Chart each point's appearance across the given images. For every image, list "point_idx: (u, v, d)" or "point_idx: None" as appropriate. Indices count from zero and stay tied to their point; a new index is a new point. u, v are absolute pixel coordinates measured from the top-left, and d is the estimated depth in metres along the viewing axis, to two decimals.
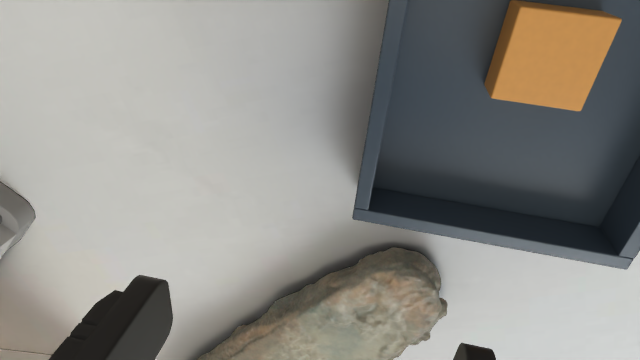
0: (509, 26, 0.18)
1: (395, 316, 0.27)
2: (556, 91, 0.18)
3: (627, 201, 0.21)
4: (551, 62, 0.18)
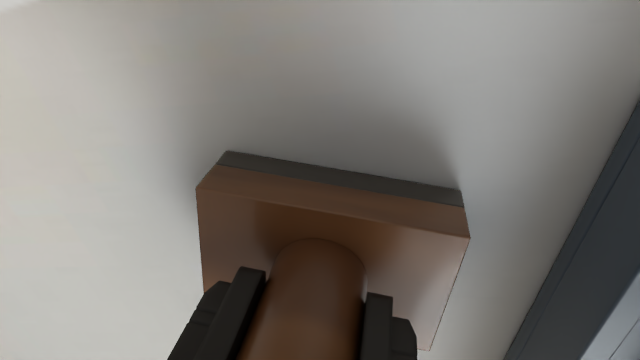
0: None
1: None
2: None
3: None
4: None
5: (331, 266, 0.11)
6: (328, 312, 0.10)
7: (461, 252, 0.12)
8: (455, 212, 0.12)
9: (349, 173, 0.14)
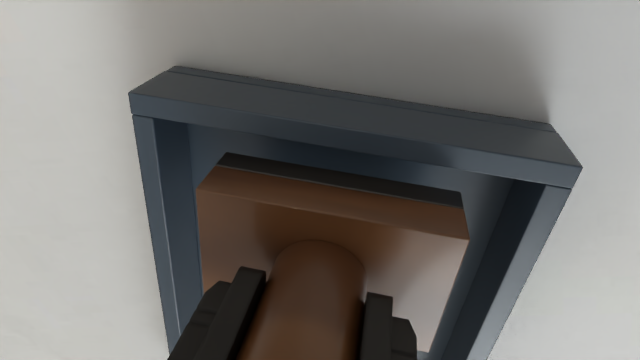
0: None
1: None
2: None
3: None
4: None
5: (331, 267, 0.11)
6: (327, 313, 0.10)
7: (460, 254, 0.12)
8: (455, 214, 0.12)
9: (349, 174, 0.14)
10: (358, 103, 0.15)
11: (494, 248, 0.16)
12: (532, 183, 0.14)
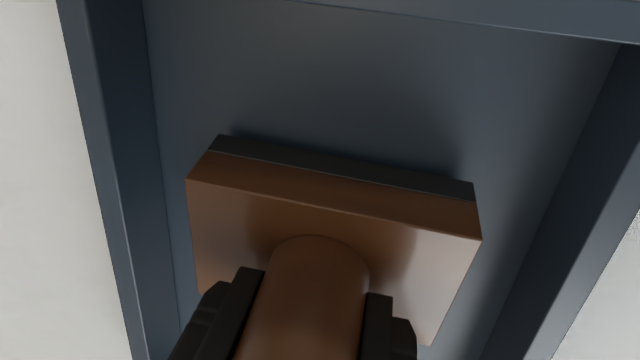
0: None
1: None
2: None
3: None
4: None
5: (331, 268, 0.11)
6: (327, 322, 0.09)
7: (472, 254, 0.11)
8: (467, 209, 0.11)
9: (352, 161, 0.13)
10: None
11: (573, 184, 0.12)
12: None
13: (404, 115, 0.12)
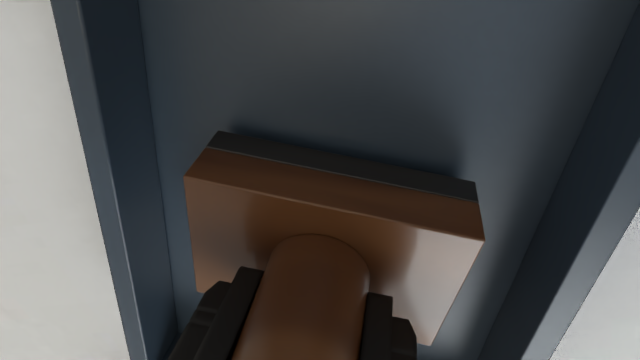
0: None
1: None
2: None
3: None
4: None
5: (332, 268, 0.10)
6: (328, 323, 0.09)
7: (474, 254, 0.11)
8: (469, 209, 0.11)
9: (353, 159, 0.12)
10: None
11: None
12: None
13: None
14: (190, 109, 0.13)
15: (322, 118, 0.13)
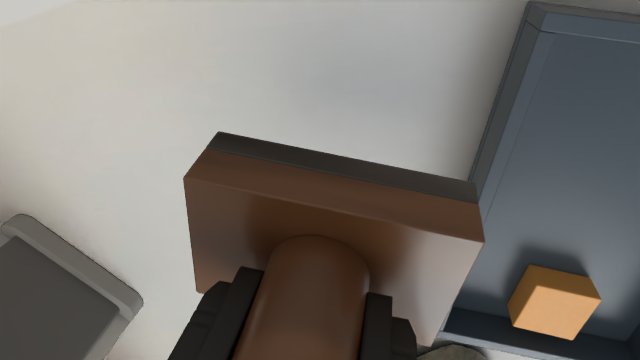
0: (528, 287, 0.27)
1: None
2: (557, 328, 0.27)
3: None
4: (554, 314, 0.27)
5: (331, 269, 0.10)
6: (327, 324, 0.09)
7: (473, 256, 0.11)
8: (469, 210, 0.11)
9: (353, 161, 0.12)
10: None
11: None
12: None
13: None
14: (510, 179, 0.25)
15: (589, 186, 0.24)
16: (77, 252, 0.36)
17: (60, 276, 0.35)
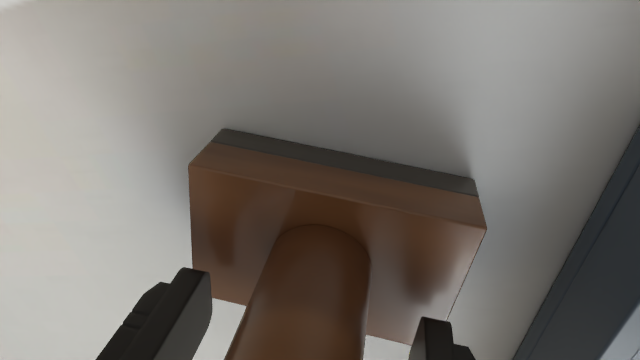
0: None
1: None
2: None
3: None
4: None
5: (335, 255, 0.10)
6: (331, 304, 0.09)
7: (476, 244, 0.11)
8: (469, 201, 0.11)
9: (355, 157, 0.13)
10: None
11: None
12: None
13: None
14: None
15: None
16: None
17: None
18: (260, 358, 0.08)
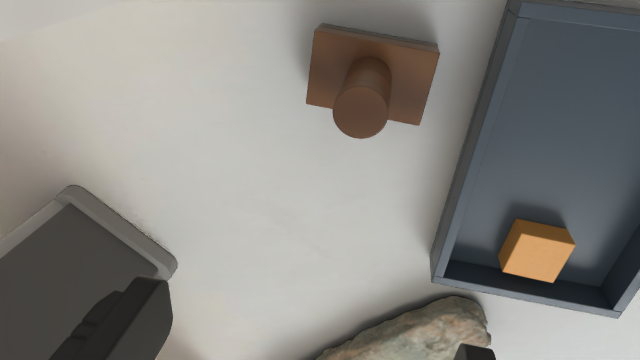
0: (514, 237, 0.32)
1: (455, 345, 0.38)
2: (539, 272, 0.32)
3: (618, 274, 0.32)
4: (537, 259, 0.32)
5: (377, 63, 0.26)
6: (378, 71, 0.24)
7: (435, 61, 0.26)
8: (433, 47, 0.27)
9: (383, 34, 0.28)
10: None
11: None
12: None
13: (636, 79, 0.26)
14: (498, 143, 0.30)
15: (563, 148, 0.29)
16: (121, 219, 0.41)
17: (108, 238, 0.40)
18: (357, 77, 0.23)
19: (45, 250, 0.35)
